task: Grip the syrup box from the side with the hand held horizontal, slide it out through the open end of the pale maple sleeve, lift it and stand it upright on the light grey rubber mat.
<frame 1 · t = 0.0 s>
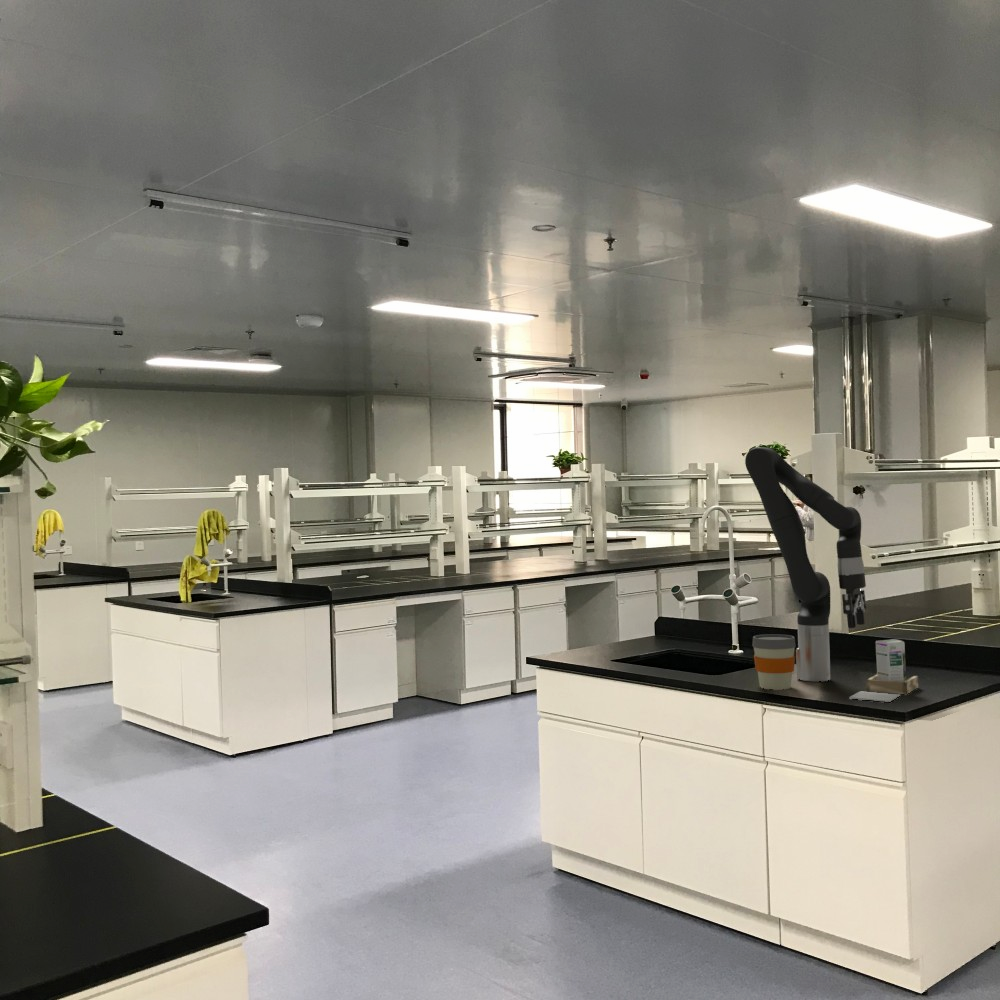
hand: (856, 626, 300), 17 cm above the counter, tool pointing down, fingers open, 8 cm apart
reusable coffee cup: (775, 687, 298), on the counter
maple sleeve: (891, 690, 287), on the counter
syrup box: (891, 691, 287), resting in maple sleeve
grey mat: (874, 697, 278), on the counter
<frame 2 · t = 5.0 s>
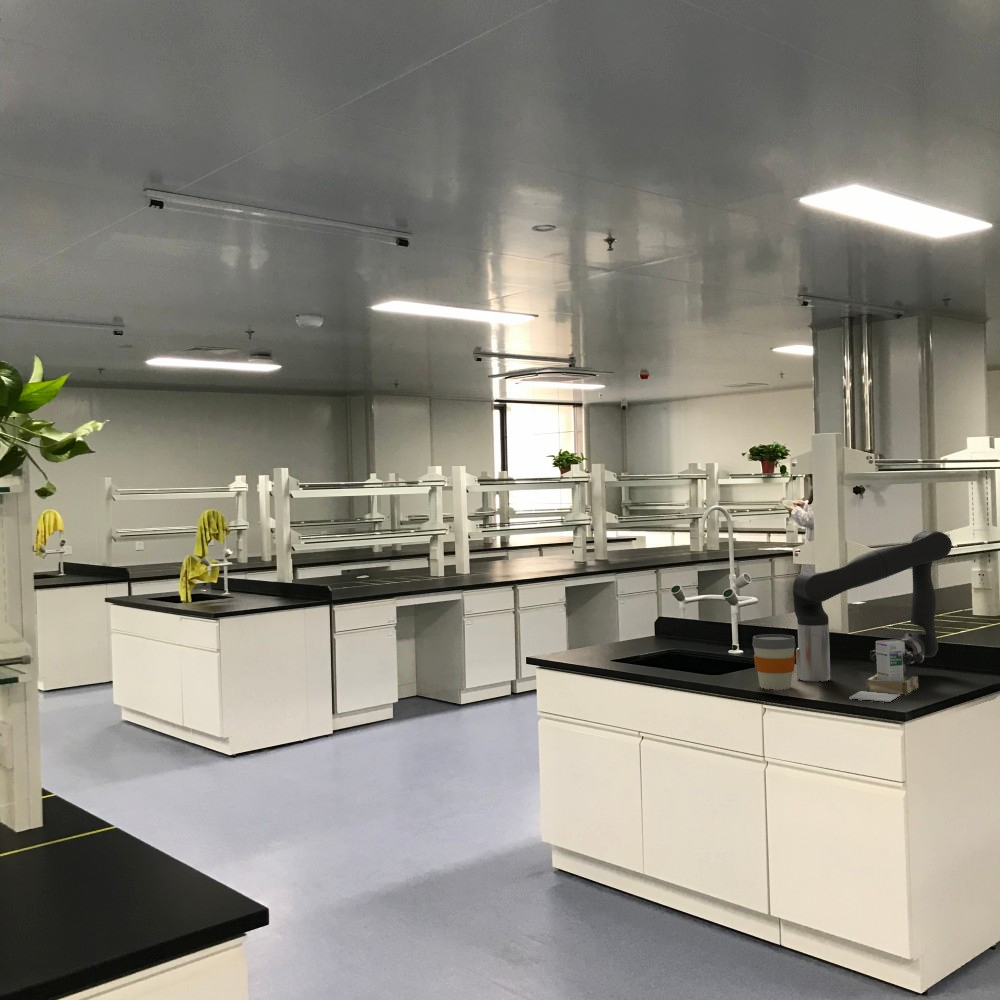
hand: (890, 659, 287), 9 cm above the counter, tool horizontal, fingers open, 8 cm apart
syrup box: (891, 691, 287), resting in maple sleeve, touching gripper
everything else where it was.
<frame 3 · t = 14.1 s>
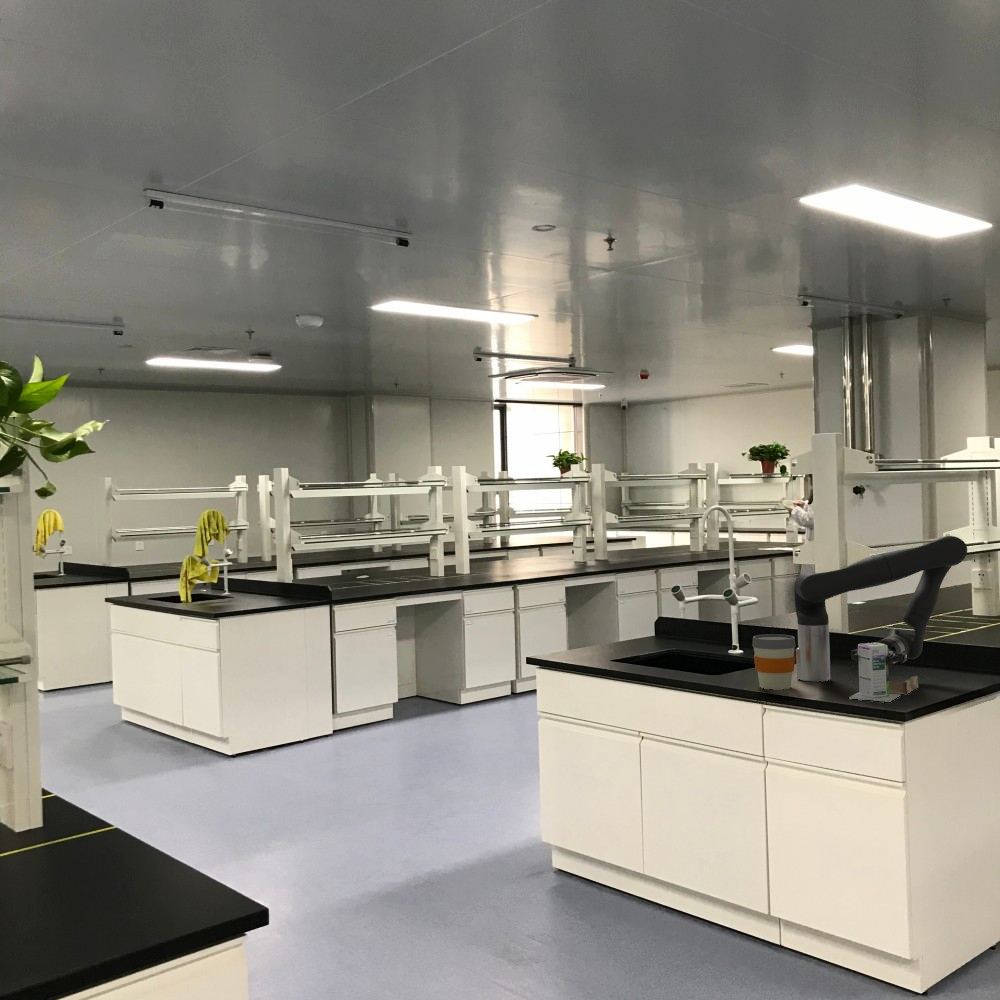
hand: (871, 659, 276), 11 cm above the counter, tool horizontal, fingers open, 8 cm apart
syrup box: (874, 696, 278), resting on grey mat, touching gripper
everything else where it was.
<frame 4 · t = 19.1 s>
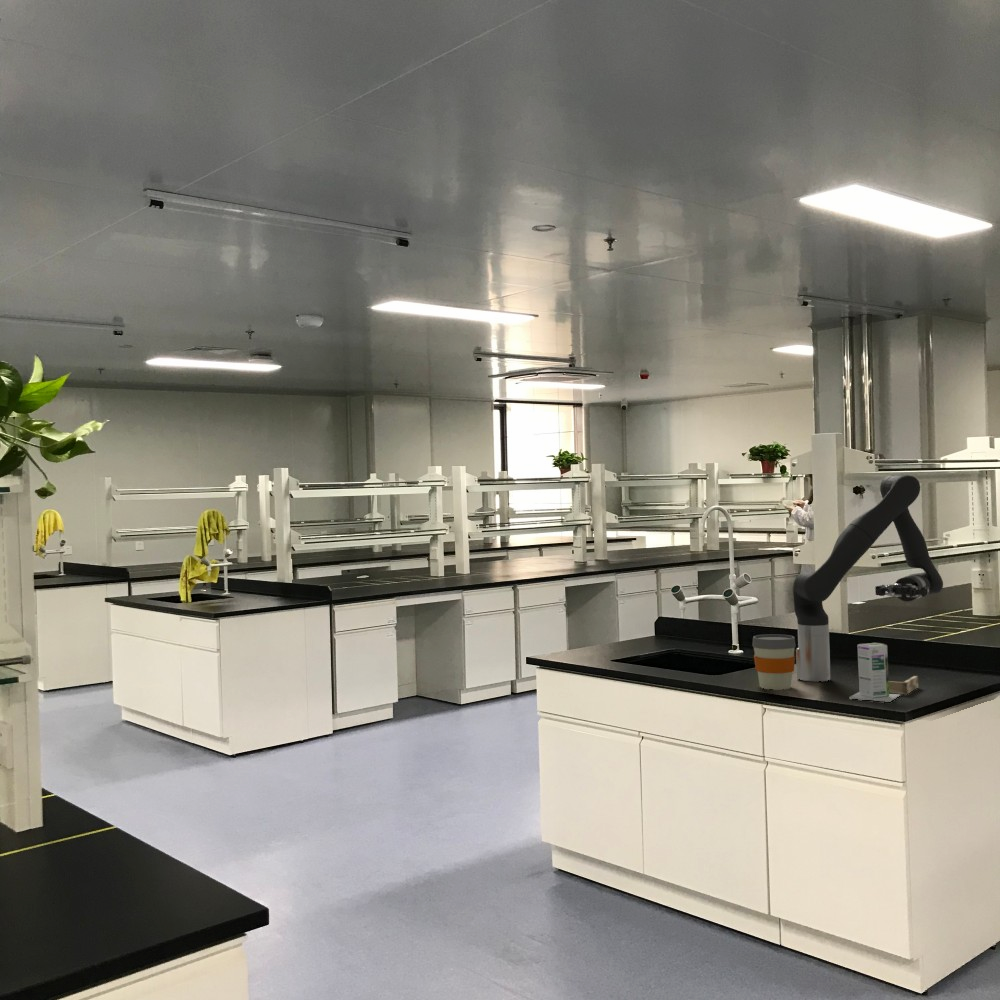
hand: (895, 592, 289), 28 cm above the counter, tool horizontal, fingers open, 8 cm apart
syrup box: (874, 696, 278), resting on grey mat
everything else where it was.
at the end: syrup box inside the target area on the grey mat (0.2 cm from its centre), point 0.4 cm above the grey mat's base; syrup box tilted 0°; the gripper is holding nothing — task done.
